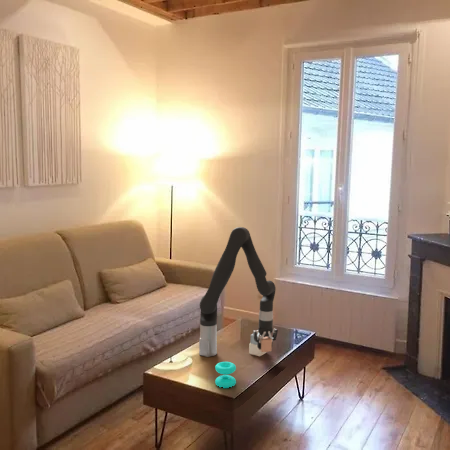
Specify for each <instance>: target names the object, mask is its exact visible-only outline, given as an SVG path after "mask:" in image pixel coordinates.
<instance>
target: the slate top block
mask: <svg viewBox="0 0 450 450" xmlns="http://www.w3.org/2000/svg"><path fill="white" fill-rule="evenodd" d="M258 336H259V332H258V334H257V338H258ZM250 343H251V344H255V345H257V342H256V341H255V340H254V336H253V333H252V334H250Z"/></svg>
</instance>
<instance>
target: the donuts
mask: <svg viewBox="0 0 450 450" xmlns="http://www.w3.org/2000/svg"><path fill="white" fill-rule="evenodd" d="M214 368H215V369H214V370H215V371H216V372H217V373H218V374H220V375H219V376H217V377H216V378H215V381H214V383H215V385H216V386H217V387H218V386H219V387H218V388H221V387H223V388H222V389H230V388H229V387H231V388H233V387H234V386H236V384H237V380H236V378H235V377H234V376H232V375H231V374H234V373H235V371H236V370H237V366H236V364H235V363H233V362H231V361H220V362H218V363H216V365H215V366H214ZM232 386H233V387H232Z"/></svg>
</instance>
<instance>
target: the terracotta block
mask: <svg viewBox="0 0 450 450" xmlns="http://www.w3.org/2000/svg"><path fill="white" fill-rule="evenodd" d="M272 348H273V342H272V339H270V338H269V337H263V339H261V349H260V351H261V352H266V353H268V352H272Z"/></svg>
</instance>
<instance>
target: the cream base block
mask: <svg viewBox="0 0 450 450" xmlns="http://www.w3.org/2000/svg"><path fill="white" fill-rule="evenodd" d="M248 346H249V347H248V354H249V355H253V356H256V357H257V356H258V357H261V356H263V355H265V354H266V353H267V352H261V351H260V350H259V349H258V347H257V345H255V344H251V342H250V343H249V344H248Z"/></svg>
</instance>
